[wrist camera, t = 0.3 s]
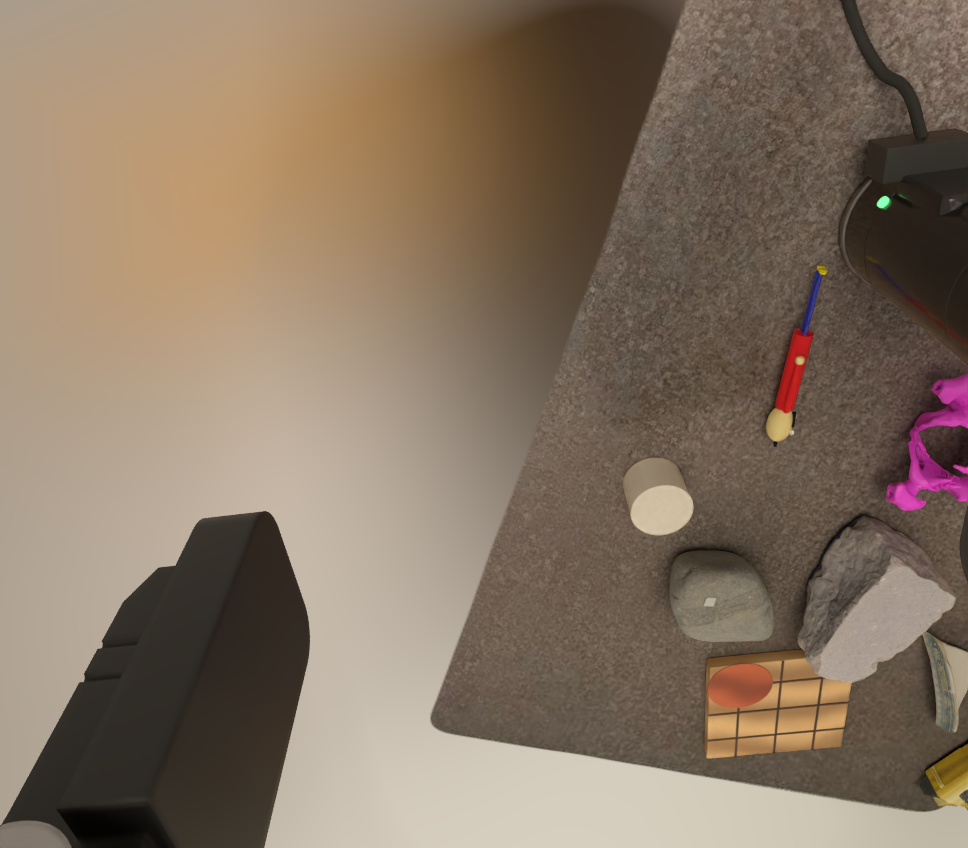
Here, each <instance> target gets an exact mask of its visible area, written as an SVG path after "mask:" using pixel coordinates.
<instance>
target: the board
mask: <svg viewBox="0 0 968 848" xmlns="http://www.w3.org/2000/svg"><path fill="white" fill-rule="evenodd" d="M851 683H852V682H841V681H835V680H831V679H826V678H823V677H821V676H819V675H817V674H815V672H814V671H813V670H812V668H811V667H810V665H809V664H808V662H807V660H806V658H805V651H804V650H803V649H798V650H788V651H777V652H767V653H757V654H747V655H737V656H726V657H716V658H707V670H706V705H705V739H704V750H705V753H706V757H707V758H718V757H729V756H734V757H737V756H740V755H751V754H762V753H775V752H784V751H795V750H806V749H811V750H813V749H817V748H828V747H839V746H841V742H842V736H843V730H844V724H845V719H846V713H847V707H848V703H849V695H850V689H851Z"/></svg>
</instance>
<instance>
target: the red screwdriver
mask: <svg viewBox="0 0 968 848" xmlns="http://www.w3.org/2000/svg"><path fill="white" fill-rule="evenodd" d="M825 268H826V267H825V266H822V265H818V266H817V271H816V274H815V278H814V281H813V285H812V289H811V293H810V297H809V301H808V304H807V308H806V312H805V316H804V320H803V324H802V327H801V329H795V330H794V332H793V336H792V340H791V344H790V348H789V352H788V356H787V360H786V363H785V367H784V371H783V375H782V379H781V383H780V387H779V391H778V395H777V399H776V403H775V407H776V408H775V409H773V410H772V412H771V413H770V414H769V416H768V419H767V423H766V431H767V434H768V436H769V438H770V439H772V440H773V441H774V442H773V444H774V447H777V443H778V442H777V441H781V440H783V439H785V438H786V437H787V436H788V435H789V434H790V435H793V434H794V431H793V430H791V429H792V427H794V424H795V416H796V412H793V413H792V412H791V411H792V410H793V409H794V405H795V402H796V398H797V394H798V391H799V387H800V383H801V380H802V376H803V372H804V369H805V365H806V361H807V358H808V354H809V350H810V346H811V343H812V339H813V335H814V333H813V332H811V331H809V330H808V328H809V324H810V320H811V316H812V313H813V309H814V305H815V301H816V298H817V294H818V290H819V286H820V283H821V279H822V275H825V274H826V273H827V272H828V270H826V269H825Z"/></svg>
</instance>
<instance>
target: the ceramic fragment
mask: <svg viewBox="0 0 968 848" xmlns="http://www.w3.org/2000/svg"><path fill="white" fill-rule="evenodd" d="M923 638H924V642H925V645H926V648H927V651H928V655H929V657H930V662H931V668H932V674H933V680H934V687H935V695H936V710H937V714H936V724H937V725H938V726H939V727H941V728H942V729H944V730H945V731H947V732H951V733H954V732H956V731H957V726H958V708H959V706H960V704H961V702H962V699H963V698H964V696H965V694H966V692H967V690H968V652H967V651H965V650H963V649H961V648H958V647H955V646H952V645H949V644H946V643H944V642H942V641H940V640H938V639H937V638H936V637H934V636H933V635H932V634H930V633H928V632H926V633H925V632H924V633H923Z"/></svg>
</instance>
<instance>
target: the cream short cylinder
mask: <svg viewBox="0 0 968 848" xmlns="http://www.w3.org/2000/svg"><path fill="white" fill-rule="evenodd" d="M623 491H624V494H625V498H626V501H627V505H628V508H629V512H630V515H631V519H632V521H633V523H634V525H635V526H636V527H637V528H638V529H639V530H641V531H643V532H645V533H647V534H651V535H665V534H670V533H672V532H675V531H677V530H679V529H680V528H682V527H683V526H684V525H685V524H686V523H687V522H688V521H689V519H690V518H691V516H692V513H693V501H692V498H691V496H690V493H689V491H688V489H687V486H686V484H685V481H684V479H683V476H682V474H681V471H680V469H679V468H678V467H677V465H676V464H674V463H673V462H671V461H670V460H667V459H664V458H658V457H654V458H647V459H644V460H641V461H639V462H637V463H635V464H634V465H633V466H632V467H630V469H629V470H628V471H627V472H626V474H625V476H624V479H623Z"/></svg>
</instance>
